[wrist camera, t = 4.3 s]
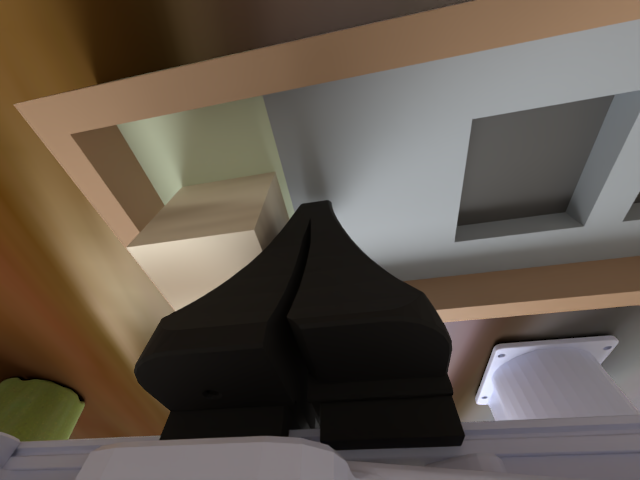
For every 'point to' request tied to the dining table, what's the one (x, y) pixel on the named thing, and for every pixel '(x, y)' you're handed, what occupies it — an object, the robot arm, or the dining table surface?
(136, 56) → the dining table surface
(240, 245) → the birch cube
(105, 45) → the dining table surface
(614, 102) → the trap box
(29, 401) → the plant pot
